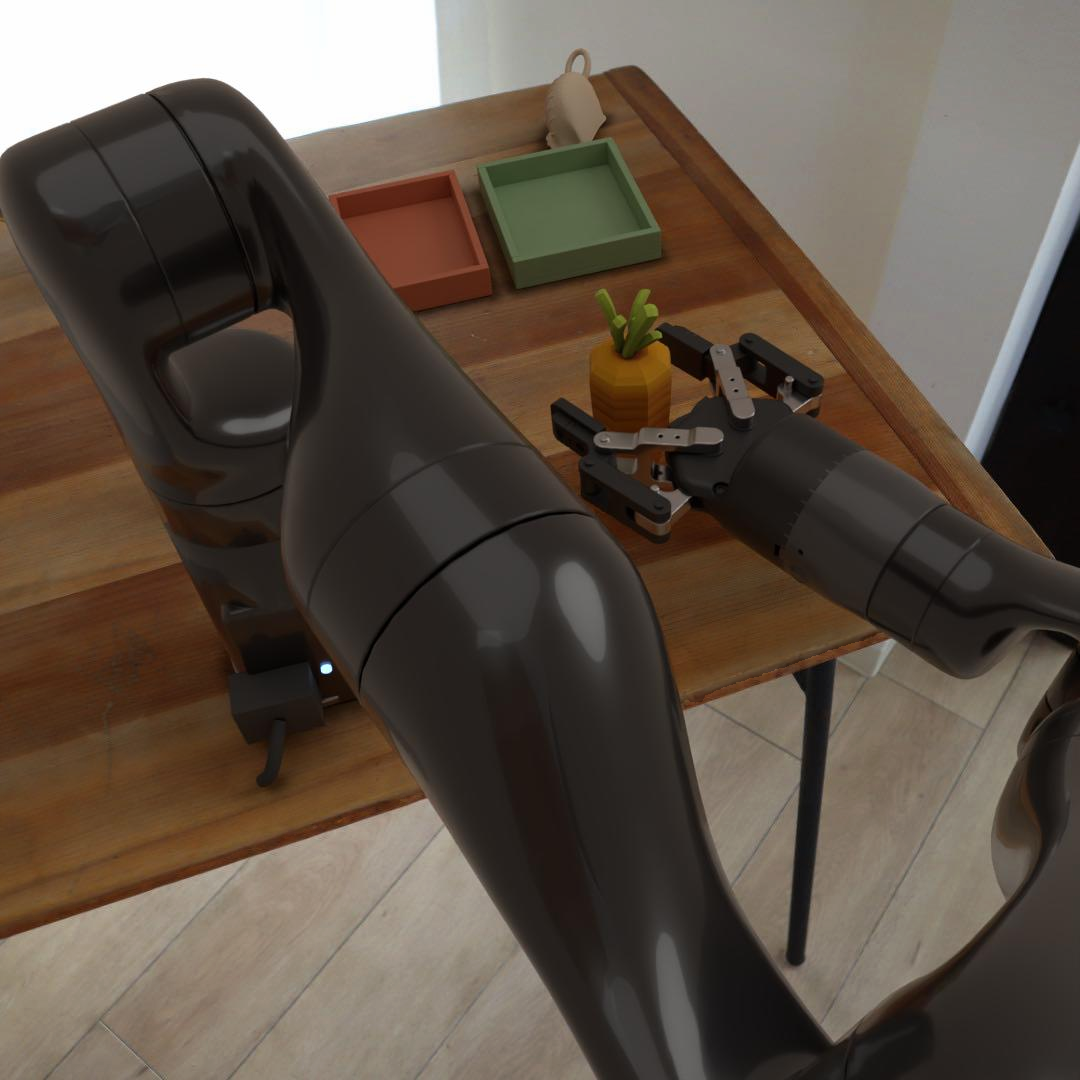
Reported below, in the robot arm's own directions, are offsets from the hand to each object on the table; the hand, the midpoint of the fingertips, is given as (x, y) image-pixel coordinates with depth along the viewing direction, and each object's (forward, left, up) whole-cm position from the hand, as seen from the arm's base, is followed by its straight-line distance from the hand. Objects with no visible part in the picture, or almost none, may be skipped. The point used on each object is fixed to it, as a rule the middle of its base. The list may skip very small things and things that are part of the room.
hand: (607, 373), depth 68 cm
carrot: (-2, -1, -9) cm, 9 cm away
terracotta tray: (+26, +9, -8) cm, 29 cm away
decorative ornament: (+38, -8, -9) cm, 40 cm away
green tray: (+26, -4, -8) cm, 28 cm away
